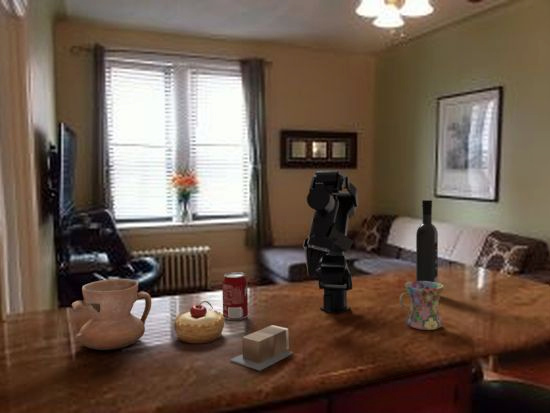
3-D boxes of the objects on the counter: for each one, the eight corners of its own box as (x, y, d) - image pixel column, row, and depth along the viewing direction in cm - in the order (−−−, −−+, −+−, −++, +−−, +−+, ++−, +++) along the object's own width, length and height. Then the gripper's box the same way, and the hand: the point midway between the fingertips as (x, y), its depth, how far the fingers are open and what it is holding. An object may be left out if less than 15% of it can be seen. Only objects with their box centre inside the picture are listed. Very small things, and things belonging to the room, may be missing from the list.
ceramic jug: (80, 362, 99) (77, 296, 98) (68, 342, 111) (65, 283, 110) (163, 344, 108) (161, 284, 108) (144, 328, 121) (142, 273, 120)
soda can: (244, 322, 124) (243, 277, 123) (219, 321, 125) (218, 276, 125) (250, 315, 131) (249, 272, 130) (227, 314, 132) (226, 271, 131)
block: (272, 324, 106) (242, 337, 98) (288, 328, 103) (258, 341, 95) (272, 344, 106) (242, 358, 98) (288, 348, 103) (259, 363, 96)
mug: (426, 319, 124) (426, 279, 123) (451, 329, 116) (452, 286, 115) (388, 325, 119) (388, 284, 119) (412, 336, 111) (412, 292, 110)
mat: (264, 345, 107) (264, 344, 106) (292, 353, 102) (292, 351, 102) (230, 361, 98) (230, 359, 98) (259, 370, 93) (259, 368, 93)
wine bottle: (438, 294, 149) (438, 200, 147) (433, 298, 144) (434, 201, 142) (420, 292, 152) (420, 199, 150) (415, 296, 147) (415, 200, 145)
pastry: (181, 329, 120) (180, 294, 119) (227, 329, 119) (226, 294, 119) (169, 346, 108) (168, 308, 107) (220, 346, 107) (219, 307, 107)
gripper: (361, 221, 113) (346, 285, 111) (348, 228, 131) (335, 282, 129) (316, 210, 113) (301, 274, 111) (309, 218, 131) (296, 272, 129)
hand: (310, 276), depth 120 cm, fingers closed
